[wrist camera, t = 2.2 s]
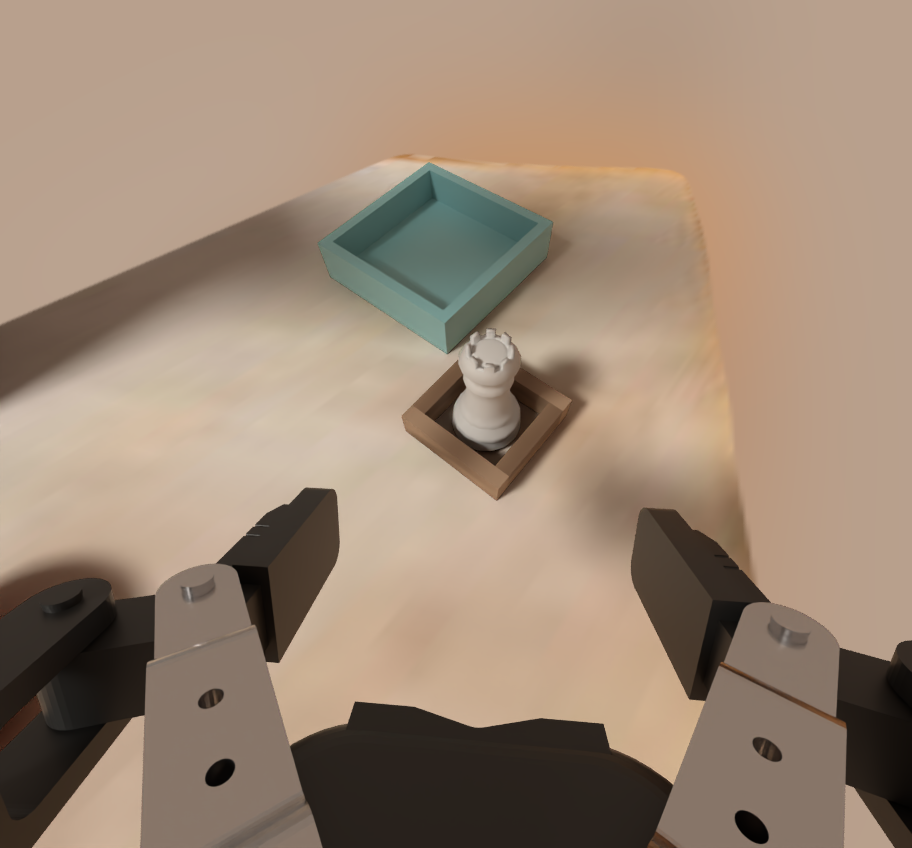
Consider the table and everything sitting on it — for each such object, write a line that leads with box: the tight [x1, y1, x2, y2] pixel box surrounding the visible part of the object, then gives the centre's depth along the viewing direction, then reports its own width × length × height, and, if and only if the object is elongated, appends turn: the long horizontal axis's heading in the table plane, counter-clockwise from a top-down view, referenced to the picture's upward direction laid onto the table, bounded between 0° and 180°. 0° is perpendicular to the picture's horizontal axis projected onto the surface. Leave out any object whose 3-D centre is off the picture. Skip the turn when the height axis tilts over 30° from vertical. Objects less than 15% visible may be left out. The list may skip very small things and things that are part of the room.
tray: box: [318, 162, 553, 354], centre depth 34 cm, size 13×13×3 cm
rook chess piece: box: [452, 328, 521, 451], centre depth 25 cm, size 4×4×8 cm
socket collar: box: [402, 360, 572, 500], centre depth 28 cm, size 8×8×2 cm
